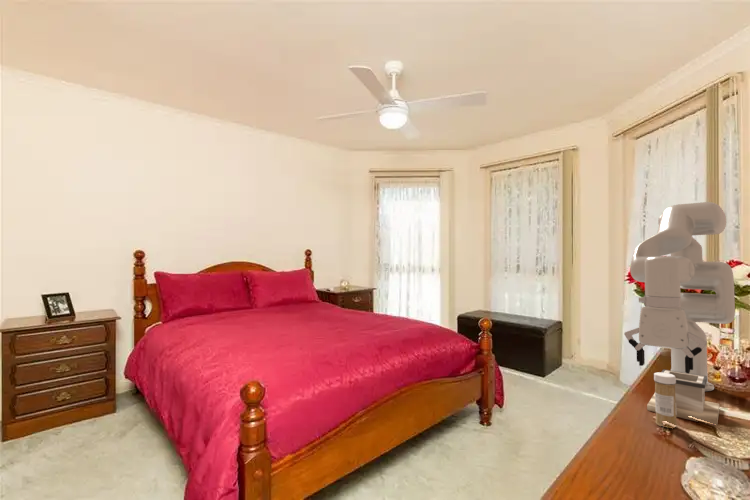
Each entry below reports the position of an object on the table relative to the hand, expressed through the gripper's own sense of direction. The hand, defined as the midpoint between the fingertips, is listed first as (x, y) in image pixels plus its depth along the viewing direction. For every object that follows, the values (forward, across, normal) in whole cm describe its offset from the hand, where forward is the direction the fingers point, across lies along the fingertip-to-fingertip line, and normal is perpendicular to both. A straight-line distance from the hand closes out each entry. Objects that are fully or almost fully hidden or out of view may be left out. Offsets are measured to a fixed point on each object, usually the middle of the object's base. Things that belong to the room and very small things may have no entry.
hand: (664, 368), depth 99 cm
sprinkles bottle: (+15, 0, +1) cm, 15 cm away
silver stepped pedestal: (+15, +2, +17) cm, 23 cm away
